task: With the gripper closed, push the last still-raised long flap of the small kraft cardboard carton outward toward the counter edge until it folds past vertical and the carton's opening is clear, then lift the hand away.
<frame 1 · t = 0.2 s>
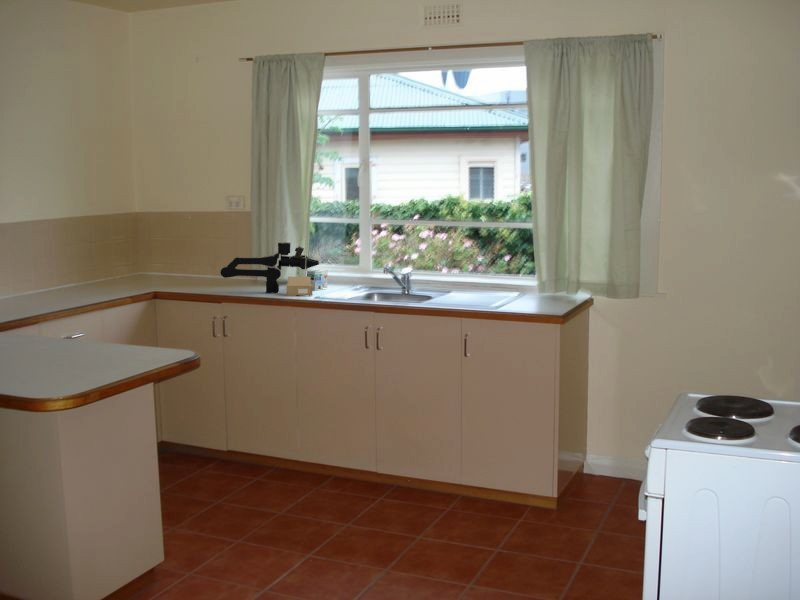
hand: (318, 262, 476), 16 cm above the counter, tool horizontal, fingers open, 9 cm apart
light bulb box: (317, 289, 491), on the counter
flap near: (299, 281, 463), point 8 cm above the counter, hinge at 72.0°
carton: (298, 294, 469), on the counter
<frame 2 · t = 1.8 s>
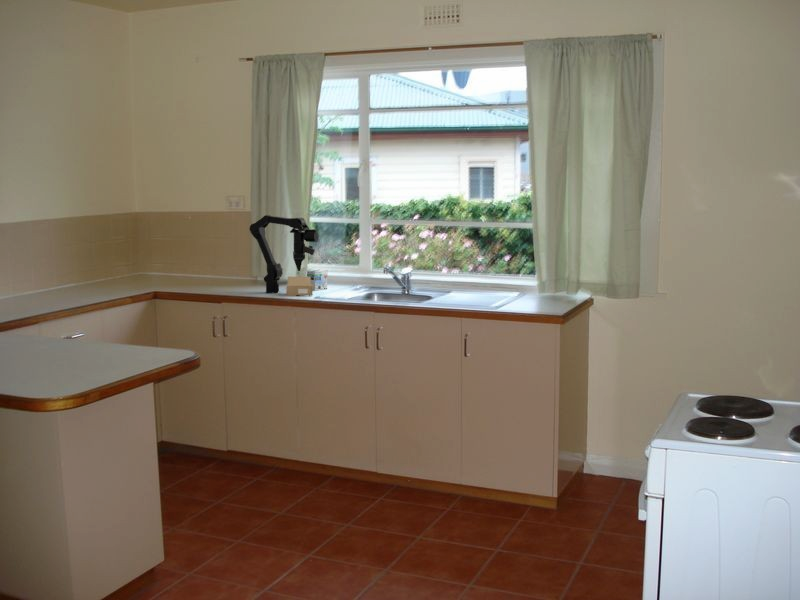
hand: (299, 270, 468), 13 cm above the counter, tool pointing down, fingers open, 5 cm apart
nothing on the counter moved.
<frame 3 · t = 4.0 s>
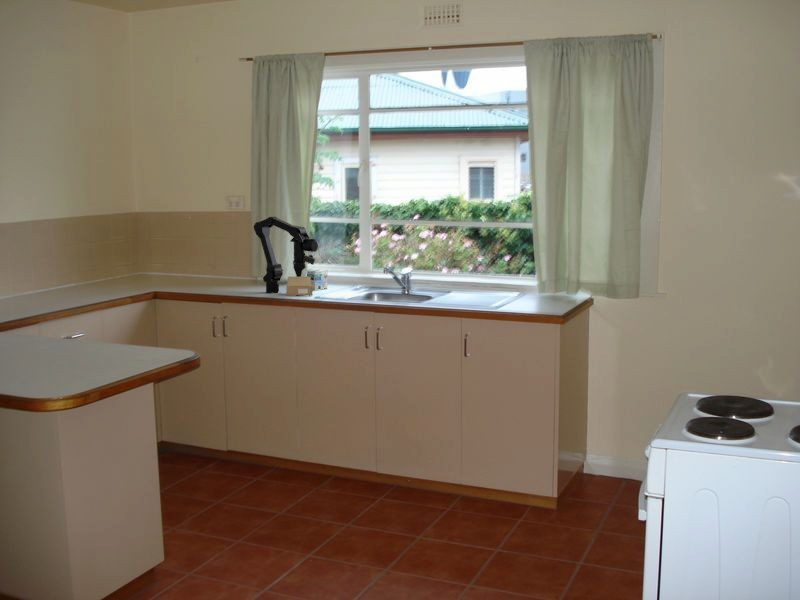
hand: (299, 279, 465), 8 cm above the counter, tool pointing down, fingers closed
flap near: (299, 281, 463), point 8 cm above the counter, hinge at 72.0°, touching gripper
everything else where it was.
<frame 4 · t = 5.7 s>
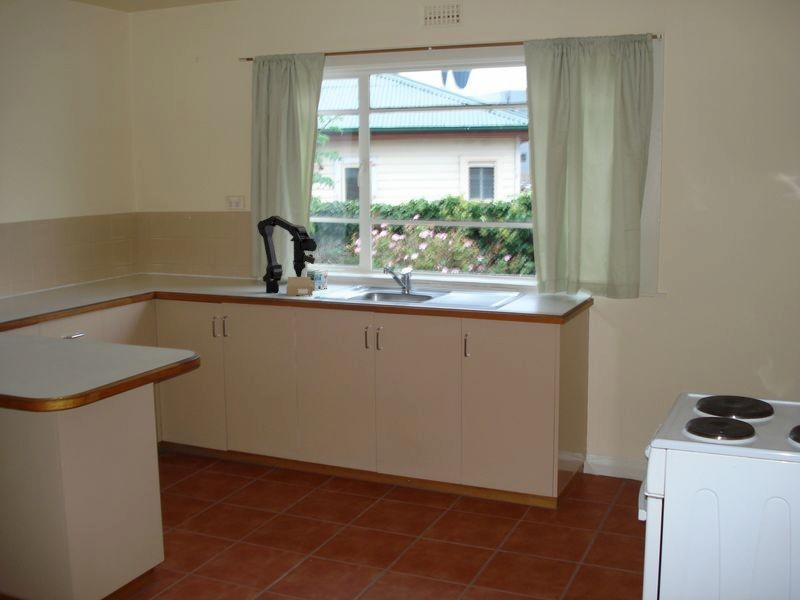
hand: (299, 279, 462), 9 cm above the counter, tool pointing down, fingers closed, pressing on flap near
flap near: (299, 281, 462), point 8 cm above the counter, hinge at 101.3°, touching gripper
everything else where it was.
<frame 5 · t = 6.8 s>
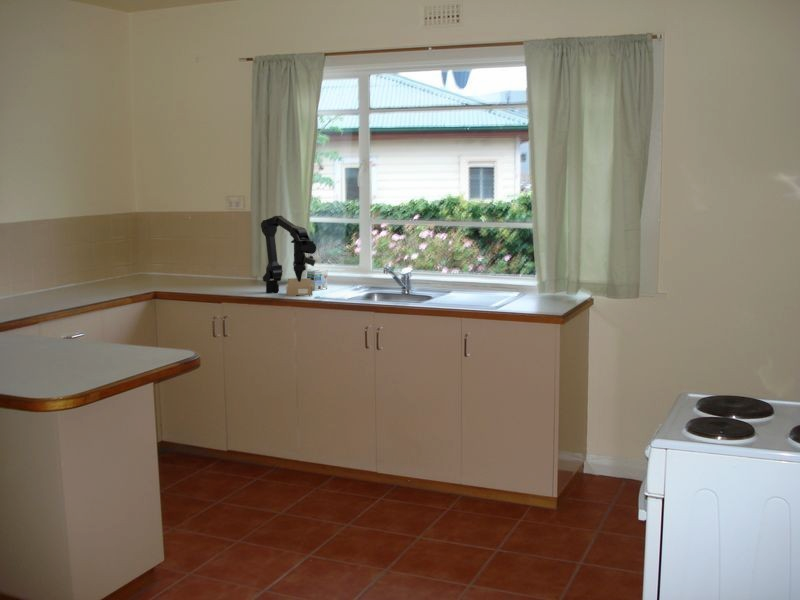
hand: (299, 281, 460), 8 cm above the counter, tool pointing down, fingers closed
flap near: (299, 282, 461), point 8 cm above the counter, hinge at 121.6°, touching gripper
everything else where it was.
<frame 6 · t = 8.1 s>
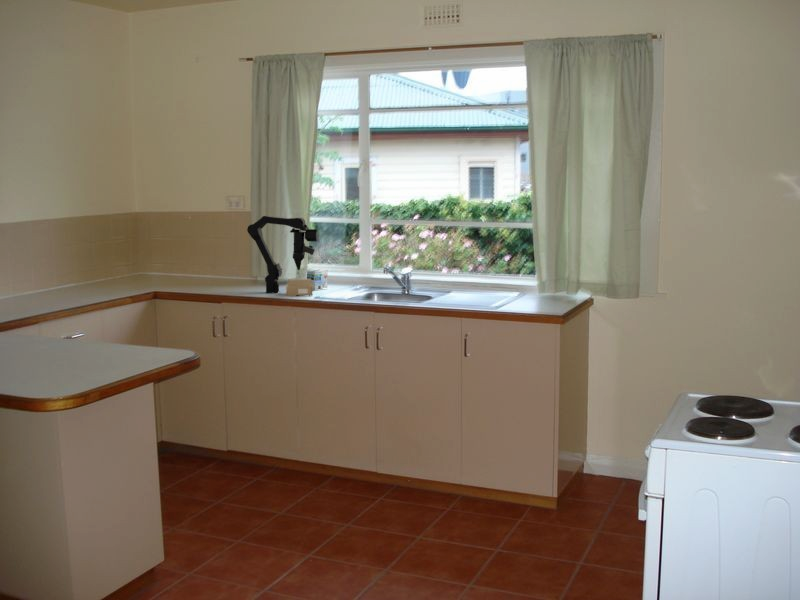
hand: (298, 269, 472), 13 cm above the counter, tool pointing down, fingers closed
flap near: (299, 282, 461), point 7 cm above the counter, hinge at 127.2°
everything else where it was.
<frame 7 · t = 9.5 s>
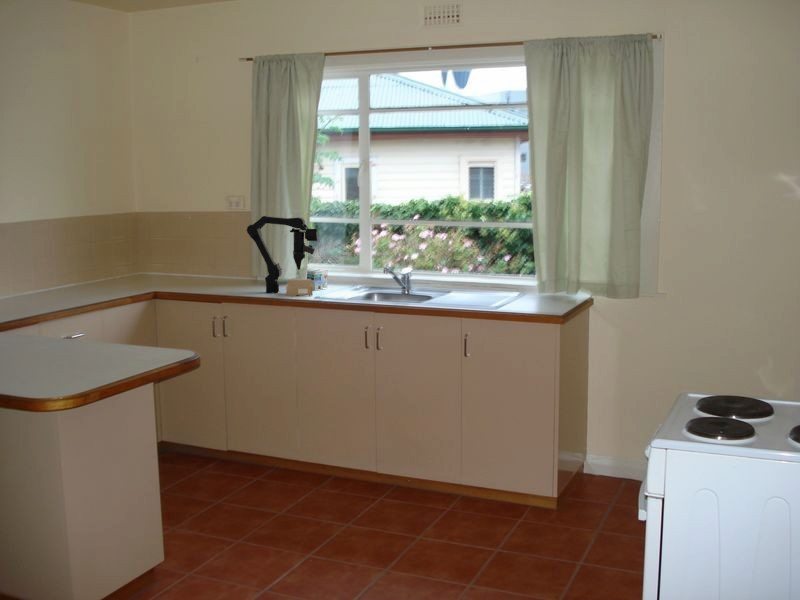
hand: (298, 269, 472), 13 cm above the counter, tool pointing down, fingers closed
flap near: (299, 282, 461), point 7 cm above the counter, hinge at 128.4°
everything else where it was.
at the end: flap near at +128° (first picture: +72°); the gripper is holding nothing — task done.
